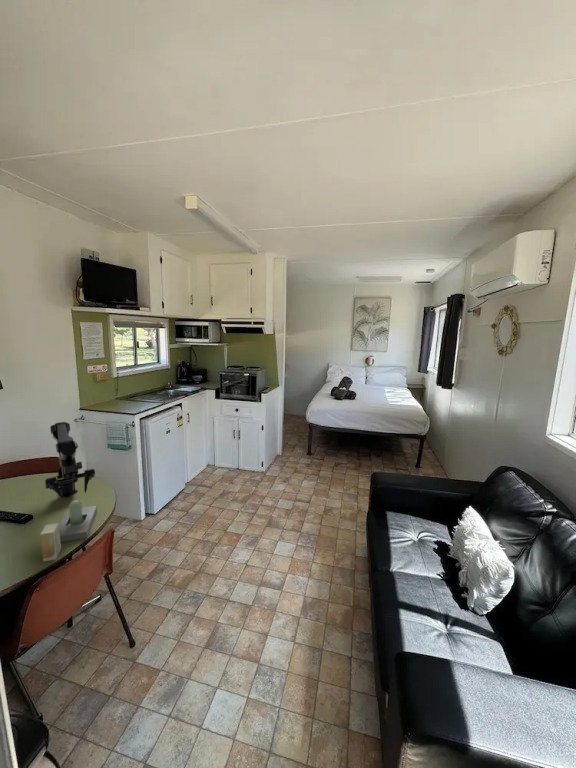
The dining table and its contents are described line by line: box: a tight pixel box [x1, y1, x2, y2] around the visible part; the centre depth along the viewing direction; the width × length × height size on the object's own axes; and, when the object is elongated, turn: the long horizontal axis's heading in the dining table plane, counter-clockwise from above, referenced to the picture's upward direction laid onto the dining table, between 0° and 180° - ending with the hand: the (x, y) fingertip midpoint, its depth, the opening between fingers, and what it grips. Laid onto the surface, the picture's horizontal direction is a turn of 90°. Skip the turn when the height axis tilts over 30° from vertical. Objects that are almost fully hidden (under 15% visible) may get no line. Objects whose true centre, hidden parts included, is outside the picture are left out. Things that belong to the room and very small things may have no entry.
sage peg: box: [68, 499, 83, 525], centre depth 137 cm, size 4×4×12 cm
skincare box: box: [39, 522, 62, 563], centre depth 119 cm, size 6×4×12 cm
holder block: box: [59, 505, 98, 543], centre depth 137 cm, size 20×12×3 cm, turn 21°
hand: (73, 495), depth 138 cm, fingers open, 9 cm apart
